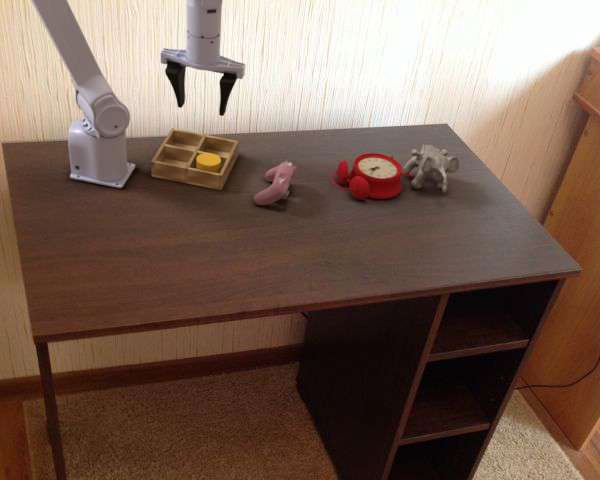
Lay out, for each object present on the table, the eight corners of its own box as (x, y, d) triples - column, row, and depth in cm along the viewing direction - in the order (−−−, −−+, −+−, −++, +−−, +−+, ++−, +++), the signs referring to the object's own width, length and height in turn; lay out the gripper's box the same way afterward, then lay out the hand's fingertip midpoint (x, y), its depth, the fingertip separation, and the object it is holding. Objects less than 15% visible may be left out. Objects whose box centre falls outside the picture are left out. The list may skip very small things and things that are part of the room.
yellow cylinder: (193, 177, 136) (193, 162, 134) (199, 165, 139) (200, 150, 137) (217, 182, 136) (217, 167, 134) (222, 170, 139) (223, 155, 137)
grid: (151, 176, 136) (151, 161, 134) (172, 142, 145) (171, 127, 143) (221, 190, 136) (222, 175, 134) (237, 155, 145) (238, 141, 142)
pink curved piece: (272, 217, 134) (292, 190, 130) (250, 202, 133) (271, 174, 128) (284, 189, 141) (304, 162, 136) (264, 175, 140) (283, 147, 135)
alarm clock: (421, 176, 140) (358, 173, 132) (407, 206, 144) (346, 204, 136) (390, 148, 146) (328, 144, 137) (378, 178, 150) (317, 175, 141)
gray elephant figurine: (428, 167, 150) (438, 132, 144) (468, 199, 144) (479, 162, 138) (392, 177, 146) (401, 140, 140) (431, 210, 140) (442, 173, 134)
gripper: (251, 30, 128) (245, 107, 138) (168, 14, 129) (169, 92, 139) (241, 46, 124) (237, 124, 134) (156, 30, 124) (157, 108, 134)
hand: (201, 109), depth 136 cm, fingers open, 7 cm apart
